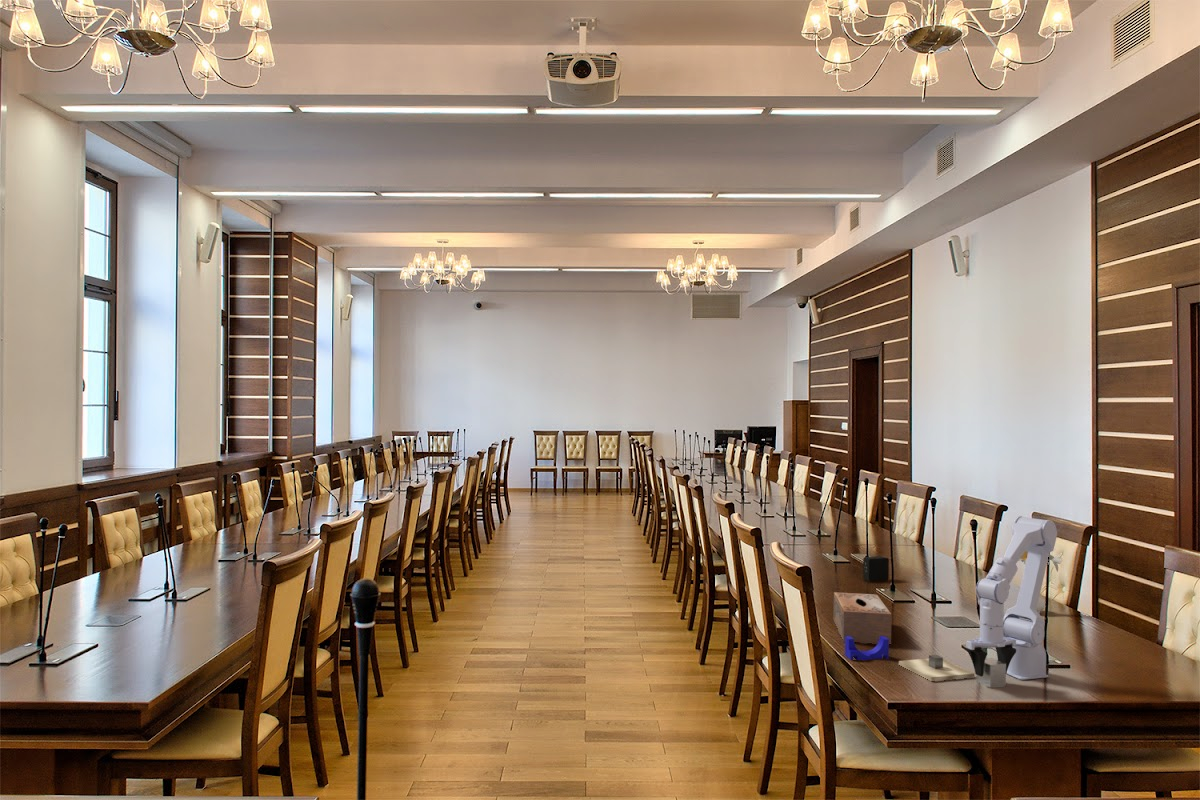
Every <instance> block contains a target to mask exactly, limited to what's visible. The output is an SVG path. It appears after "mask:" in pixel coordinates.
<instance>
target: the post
mask: <svg viewBox="0 0 1200 800" xmlns="http://www.w3.org/2000/svg"><path fill="white" fill-rule="evenodd" d="M928 658H929V666H930V667H932V668H934V669H940V668H943V659H944V657H942V656H940V655H938V654H931V655H928Z"/></svg>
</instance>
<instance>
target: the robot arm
mask: <svg viewBox="0 0 1200 800" xmlns="http://www.w3.org/2000/svg"><path fill="white" fill-rule="evenodd" d="M1011 533H1012V537H1011V540H1010V541H1009V543H1008V546H1007V548H1006V550H1005V552H1004V554H1003V557H997V559H996V560H995V562H994V563H993V565H992V566H991V568H990V569H989V572H988V573H987V575H986V576H985V577H983V578H982V579H981V578H980V579H979V580H978V581H977V583H976V587H975V589H974V591H975V595H976V597H977V604H978V605H979V637H977V638H974V639H969V640H966V643H965V644H966V645H965V646H966V647H965V648H966V651H967V653H968V656H969V658H970V659H971V662H972V665H973V668H974V675H976V676H977V675H979V676H983V674H984V663H985V659H986V658H987V656H988V653H987V652H985V651H984V650H983V649H988V648H989V649H990V648H995V651H996V656H997V660H998V661H1000V662H1003V663H1005V664H1006V675H1009V676H1011V677H1013V678H1016V679H1018V680H1021V681H1024V680H1034V679H1045V678H1049V675H1048V674H1047V653H1046V649H1045V647H1044V645H1042V643H1043V641H1044V639H1045V623H1046V621H1045V619H1044V618H1043V616H1042V615H1041V613H1040V614H1039V613H1038V612H1037V611H1036V610H1037V606H1038V601H1039V597H1040V596H1041V591H1042V587H1043V583H1044V578H1045V574H1046V569H1047V565H1048V564H1047V561H1049V559H1048V557H1049V554H1050V553H1052V552H1054V549H1055V545H1056V541H1057V537H1058V529H1057V526H1056V524H1055V522H1054V521H1053V520H1052V519H1040V518H1034V517H1025V516H1022V515H1019V516H1017V517H1016V518H1015V519H1014V520H1013V522H1012V525H1011ZM1026 550H1027V551H1028V556H1027V560H1026V564H1024V569H1023V574H1022V578H1021V582H1020V587H1019V590H1018V595H1017V598H1016V604H1015V605H1014V606H1011V607H1010V608H1008V609H1006V610H1004V608H1005V607H1004V604H1005V602H1006V601H1007V600H1008V598H1009V594H1010V589H1011V585H1010V584H1011V583H1012V581H1013V579H1014V577H1015V576H1016V574H1017V572H1018V570H1019V568H1018V565H1017V563H1018V562H1019V561H1018V560H1019V559H1020V558H1021V556H1022V555H1023V554H1024V552H1025V551H1026ZM1004 611H1005V612H1004Z"/></svg>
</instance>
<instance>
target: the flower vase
mask: <svg viewBox="0 0 1200 800" xmlns="http://www.w3.org/2000/svg"><path fill="white" fill-rule="evenodd" d="M1062 555H1063V551H1061V552H1060V553H1059V554H1058V555H1057V556H1053V555H1052V554H1050V553H1049V559H1048V561H1049V560H1050V561H1052V564H1053V565H1054V568H1055V570H1056V572H1058V571H1059V565H1060V564H1061V563H1062V562H1063V560H1062V558H1061V557H1062ZM1027 556H1028V551H1027V550H1026V551H1025V552H1024V554H1023V555H1022V556H1021V558H1020V559H1019V560H1018V562H1019V561H1021V563H1023V564H1024V565H1025V564H1026V560H1027ZM1048 561H1047V563H1048V564H1047V565H1050V564H1051V563H1050V561H1049V562H1048ZM1045 603H1046V601H1045V599H1044V597H1042V596H1041V595H1040V597H1039V601H1038V606H1037V610H1036V611H1037V612H1038V613H1039V614H1040V615H1041V611H1043V610H1044V609H1045V608H1046V606H1045Z"/></svg>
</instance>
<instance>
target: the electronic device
mask: <svg viewBox="0 0 1200 800" xmlns="http://www.w3.org/2000/svg"><path fill="white" fill-rule="evenodd" d="M862 560H863V561H862V563H863V564H862V580H863V581H866V582H868V581H869V583H874V582H873V581H882V582H888V581H889V579H890V577H889V576H890V575H889V572H890V571H889V569H890V567H889V565H890V561H889V560H890V558H889V557H886V556H881V555H879V556H877V555H876V556H864V557H863V559H862Z"/></svg>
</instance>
